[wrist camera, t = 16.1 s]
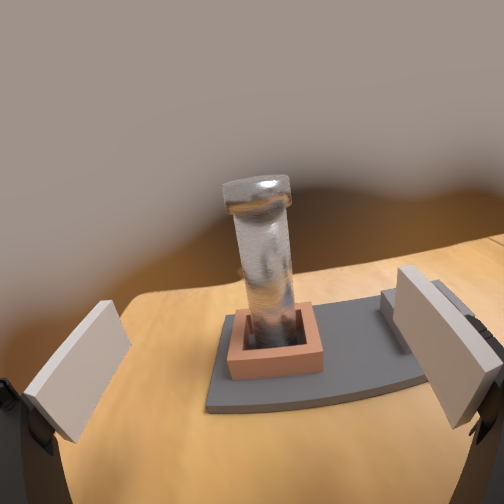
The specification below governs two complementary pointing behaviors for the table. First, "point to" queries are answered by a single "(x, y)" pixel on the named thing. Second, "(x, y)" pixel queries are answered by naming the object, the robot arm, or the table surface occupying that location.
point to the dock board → (317, 358)
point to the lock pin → (265, 255)
